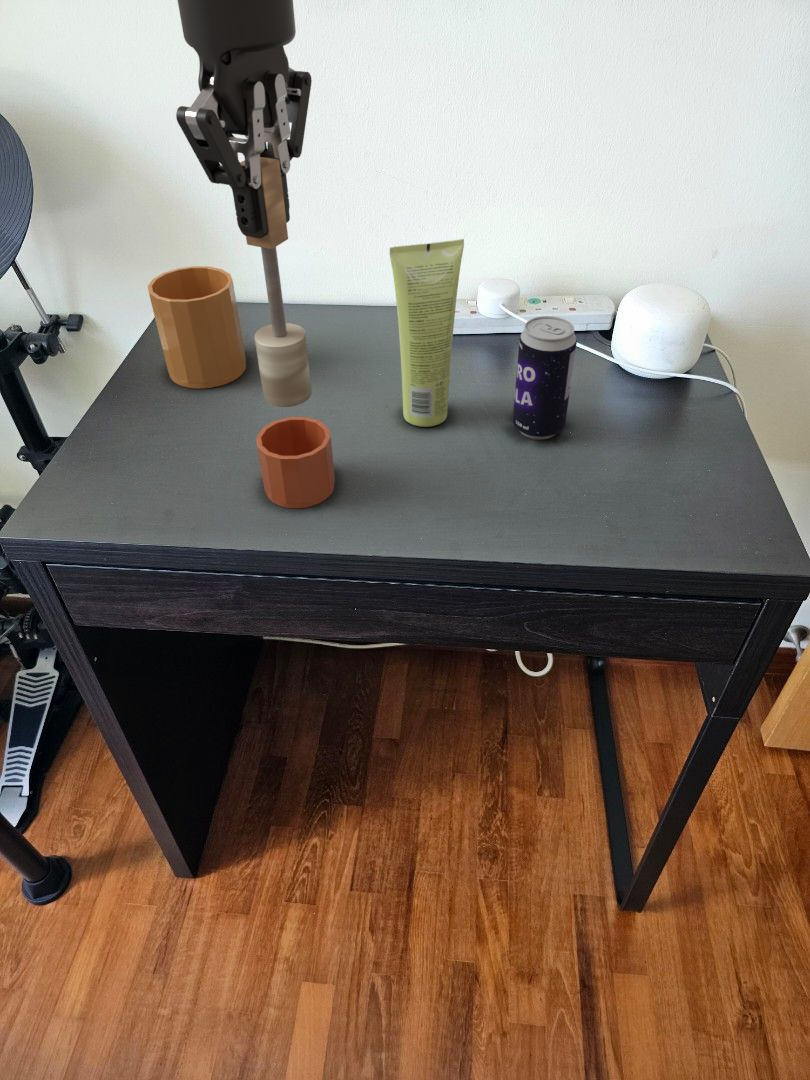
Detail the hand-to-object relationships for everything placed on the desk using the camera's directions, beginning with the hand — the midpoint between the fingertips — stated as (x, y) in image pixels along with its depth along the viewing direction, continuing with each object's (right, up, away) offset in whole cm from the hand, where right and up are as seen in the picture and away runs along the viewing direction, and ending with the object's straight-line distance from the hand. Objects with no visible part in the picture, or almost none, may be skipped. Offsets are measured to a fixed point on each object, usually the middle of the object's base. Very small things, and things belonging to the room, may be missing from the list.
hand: (265, 228), depth 62 cm
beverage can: (+26, -13, +24) cm, 37 cm away
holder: (0, -19, +17) cm, 26 cm away
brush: (0, -11, +10) cm, 15 cm away
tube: (+13, -11, +26) cm, 32 cm away
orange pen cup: (-13, -4, +35) cm, 38 cm away
